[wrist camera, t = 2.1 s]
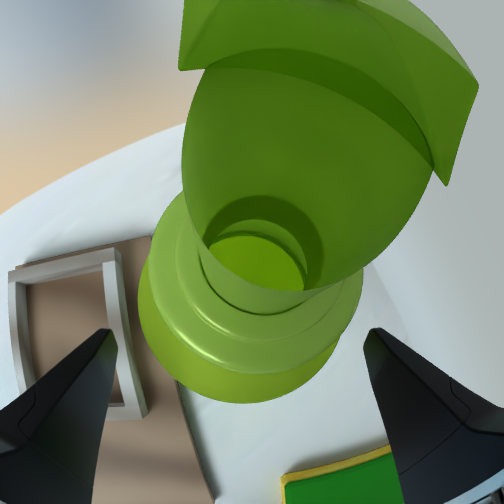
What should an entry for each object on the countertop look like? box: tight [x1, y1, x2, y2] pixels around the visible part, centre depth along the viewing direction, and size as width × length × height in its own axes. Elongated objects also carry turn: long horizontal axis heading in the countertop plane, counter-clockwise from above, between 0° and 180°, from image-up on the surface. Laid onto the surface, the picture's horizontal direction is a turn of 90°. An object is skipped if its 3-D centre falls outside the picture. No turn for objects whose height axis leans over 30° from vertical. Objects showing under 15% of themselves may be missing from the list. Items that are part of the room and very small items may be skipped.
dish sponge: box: [280, 444, 404, 504], centre depth 15 cm, size 7×14×2 cm, turn 95°
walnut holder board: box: [8, 236, 215, 504], centre depth 16 cm, size 22×14×3 cm, turn 13°
